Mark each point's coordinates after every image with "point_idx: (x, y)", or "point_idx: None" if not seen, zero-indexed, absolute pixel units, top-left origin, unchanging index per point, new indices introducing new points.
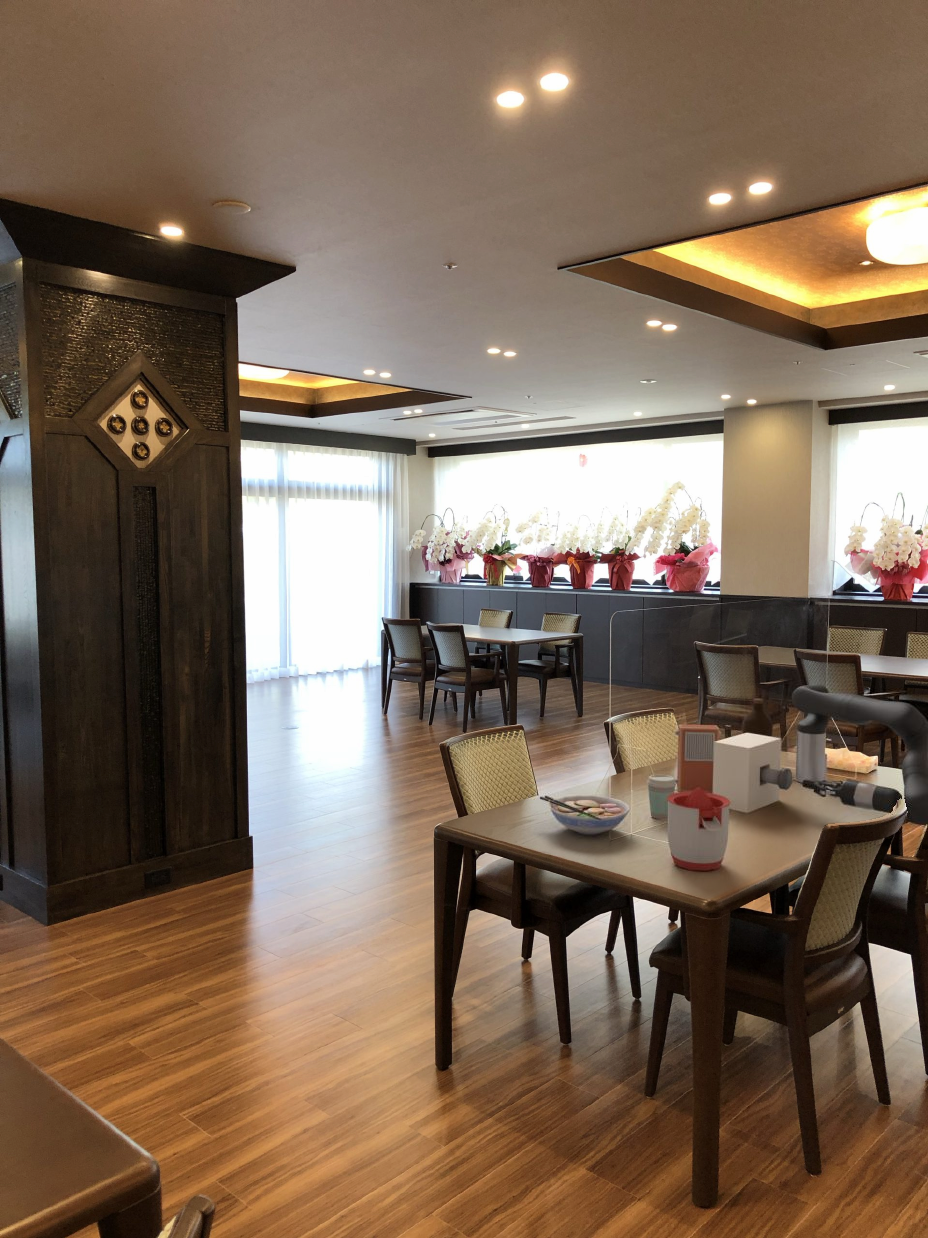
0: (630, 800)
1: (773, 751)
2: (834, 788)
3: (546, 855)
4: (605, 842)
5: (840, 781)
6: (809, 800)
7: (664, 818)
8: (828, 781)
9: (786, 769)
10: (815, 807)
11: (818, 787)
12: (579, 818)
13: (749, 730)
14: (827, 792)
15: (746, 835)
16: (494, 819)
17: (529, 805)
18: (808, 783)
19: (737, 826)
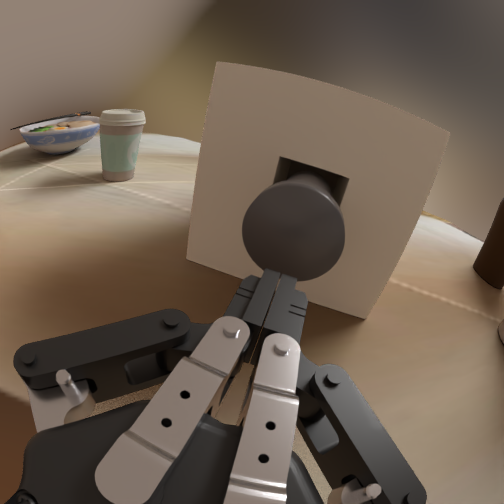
0: (197, 164)
1: (387, 146)
2: (51, 464)
3: (6, 148)
4: (24, 159)
5: (406, 499)
6: (428, 381)
7: (103, 175)
8: (269, 415)
9: (298, 185)
10: (377, 416)
11: (84, 335)
12: (27, 126)
13: (501, 210)
14: (34, 406)
15: (7, 248)
16: (99, 129)
17: (145, 134)
18: (235, 296)
19: (66, 239)
